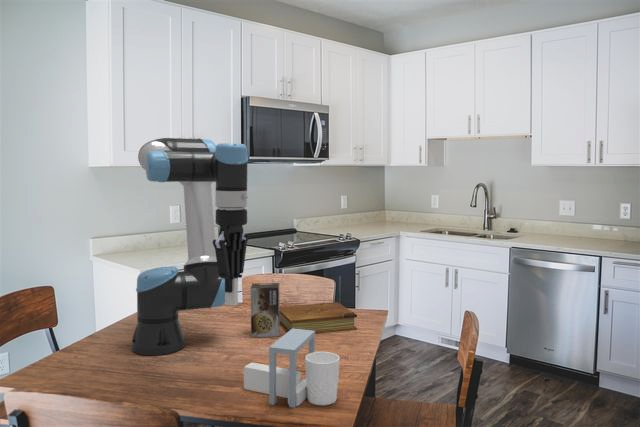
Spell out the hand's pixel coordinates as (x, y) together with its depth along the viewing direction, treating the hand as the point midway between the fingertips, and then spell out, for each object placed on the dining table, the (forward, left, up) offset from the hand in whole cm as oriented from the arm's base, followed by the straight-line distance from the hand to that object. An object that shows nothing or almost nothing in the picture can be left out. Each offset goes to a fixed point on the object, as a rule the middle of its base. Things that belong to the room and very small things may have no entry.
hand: (231, 304), depth 130 cm
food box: (-8, +40, -20) cm, 45 cm away
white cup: (+24, -2, -20) cm, 31 cm away
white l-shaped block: (+12, -1, -20) cm, 24 cm away
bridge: (+16, 0, -20) cm, 26 cm away
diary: (+4, +55, -21) cm, 59 cm away
